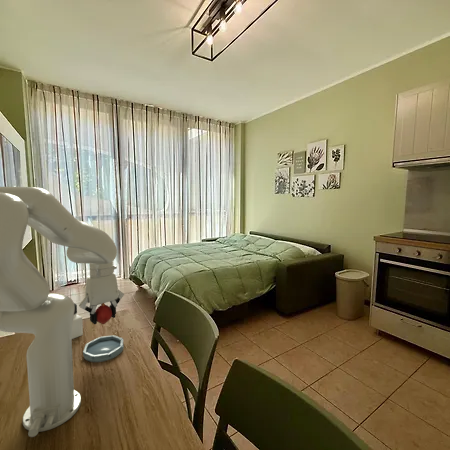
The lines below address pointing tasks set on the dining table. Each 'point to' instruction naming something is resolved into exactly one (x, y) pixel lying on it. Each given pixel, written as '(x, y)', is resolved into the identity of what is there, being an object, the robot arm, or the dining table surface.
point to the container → (76, 324)
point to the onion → (103, 313)
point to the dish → (103, 348)
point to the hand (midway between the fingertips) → (103, 319)
